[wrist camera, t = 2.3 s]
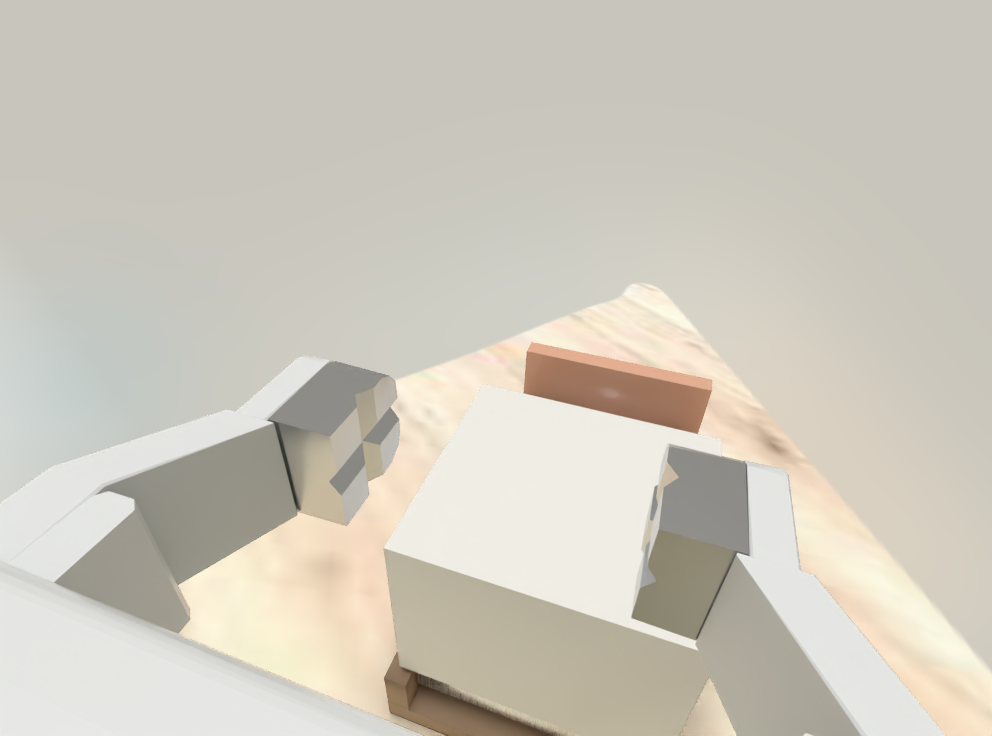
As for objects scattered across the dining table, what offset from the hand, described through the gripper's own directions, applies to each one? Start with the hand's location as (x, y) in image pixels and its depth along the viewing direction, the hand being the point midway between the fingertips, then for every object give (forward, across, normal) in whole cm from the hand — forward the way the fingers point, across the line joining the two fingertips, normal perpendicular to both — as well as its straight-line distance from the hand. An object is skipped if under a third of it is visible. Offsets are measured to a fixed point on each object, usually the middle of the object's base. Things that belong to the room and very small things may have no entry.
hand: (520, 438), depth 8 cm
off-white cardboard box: (+9, 0, +18) cm, 21 cm away
